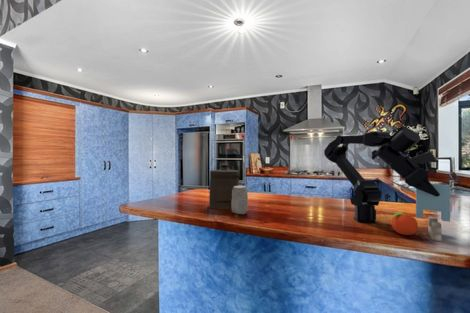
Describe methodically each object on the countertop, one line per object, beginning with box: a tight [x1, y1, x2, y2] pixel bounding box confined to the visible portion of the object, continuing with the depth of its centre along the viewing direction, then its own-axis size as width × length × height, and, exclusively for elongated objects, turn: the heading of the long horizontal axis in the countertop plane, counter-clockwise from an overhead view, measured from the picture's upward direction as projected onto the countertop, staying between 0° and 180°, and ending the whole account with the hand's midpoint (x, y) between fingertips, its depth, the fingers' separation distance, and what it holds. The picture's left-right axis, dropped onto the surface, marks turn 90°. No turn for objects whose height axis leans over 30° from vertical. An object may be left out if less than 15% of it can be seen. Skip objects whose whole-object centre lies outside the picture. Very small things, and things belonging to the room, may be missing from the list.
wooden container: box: [208, 162, 240, 210], centre depth 115 cm, size 15×15×22 cm
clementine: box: [390, 212, 419, 236], centre depth 74 cm, size 8×7×7 cm
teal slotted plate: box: [415, 183, 451, 223], centre depth 73 cm, size 8×2×11 cm, turn 55°
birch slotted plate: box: [427, 216, 442, 242], centre depth 72 cm, size 2×10×5 cm, turn 145°
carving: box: [231, 185, 249, 215], centre depth 100 cm, size 6×8×12 cm
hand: (438, 195), depth 72 cm, fingers closed on teal slotted plate, 2 cm apart
